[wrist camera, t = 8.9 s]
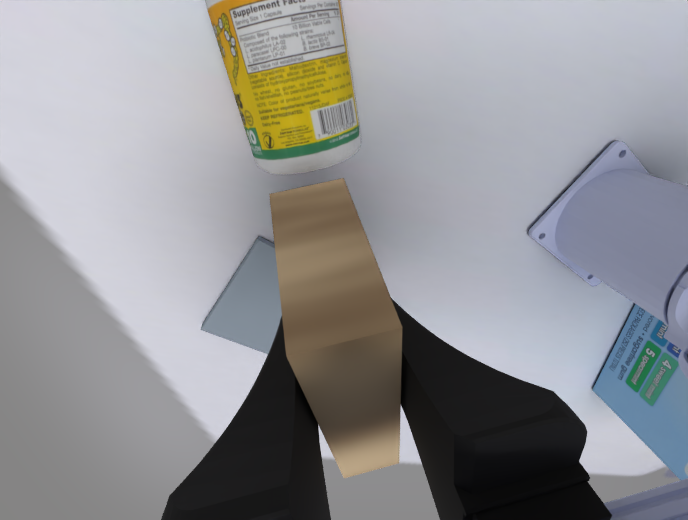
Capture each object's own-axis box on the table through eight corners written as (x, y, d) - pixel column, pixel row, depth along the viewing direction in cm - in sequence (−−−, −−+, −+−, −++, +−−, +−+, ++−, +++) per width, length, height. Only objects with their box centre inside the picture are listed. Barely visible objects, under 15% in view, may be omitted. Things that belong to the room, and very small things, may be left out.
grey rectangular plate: (398, 307, 27) (400, 312, 26) (339, 374, 29) (340, 380, 29) (258, 236, 22) (258, 240, 21) (202, 324, 24) (200, 329, 24)
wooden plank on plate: (364, 345, 19) (398, 463, 15) (321, 356, 19) (344, 478, 15) (343, 177, 11) (402, 327, 7) (269, 194, 11) (286, 356, 7)
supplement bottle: (361, 166, 15) (310, -170, 10) (243, 185, 15) (139, -116, 10) (364, 136, 19) (329, -102, 14) (272, 152, 20) (209, -69, 15)
